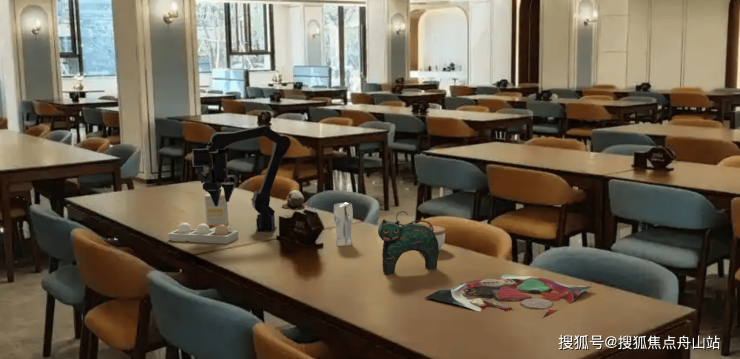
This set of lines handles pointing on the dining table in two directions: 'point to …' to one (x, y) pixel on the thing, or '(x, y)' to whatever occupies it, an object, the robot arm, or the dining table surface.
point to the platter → (509, 293)
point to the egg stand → (216, 226)
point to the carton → (200, 234)
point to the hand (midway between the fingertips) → (221, 204)
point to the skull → (294, 200)
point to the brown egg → (221, 230)
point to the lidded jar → (439, 234)
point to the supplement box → (216, 211)
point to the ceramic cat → (407, 243)
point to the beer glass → (343, 223)
